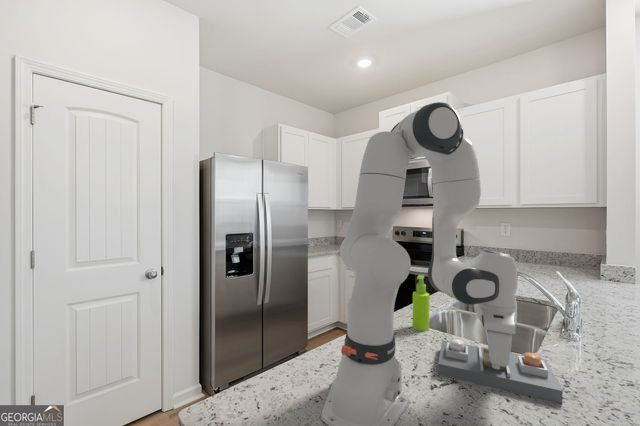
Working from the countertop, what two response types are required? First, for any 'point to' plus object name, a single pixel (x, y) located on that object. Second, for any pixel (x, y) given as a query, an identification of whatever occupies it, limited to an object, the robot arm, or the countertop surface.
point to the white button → (457, 345)
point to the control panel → (499, 373)
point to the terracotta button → (532, 360)
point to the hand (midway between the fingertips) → (495, 366)
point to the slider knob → (488, 359)
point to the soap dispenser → (420, 306)
